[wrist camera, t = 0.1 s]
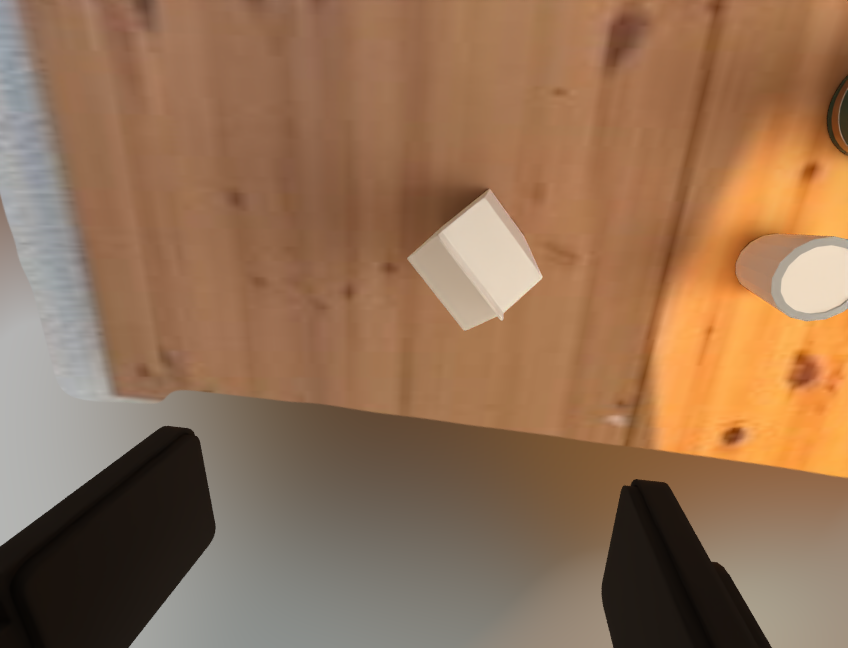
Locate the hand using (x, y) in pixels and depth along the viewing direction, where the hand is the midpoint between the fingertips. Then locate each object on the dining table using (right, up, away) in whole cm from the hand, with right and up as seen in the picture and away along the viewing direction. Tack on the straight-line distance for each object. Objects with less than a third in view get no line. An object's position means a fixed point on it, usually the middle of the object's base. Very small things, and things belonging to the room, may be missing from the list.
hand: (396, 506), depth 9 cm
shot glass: (+33, +10, +31) cm, 46 cm away
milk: (+7, +14, +34) cm, 37 cm away
